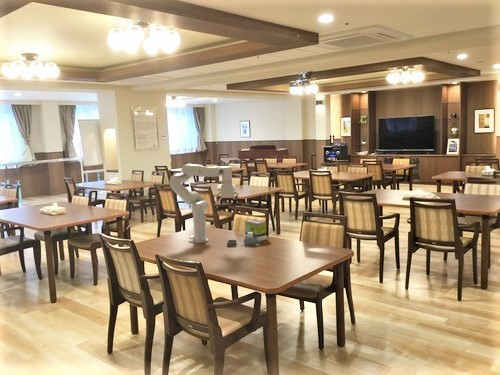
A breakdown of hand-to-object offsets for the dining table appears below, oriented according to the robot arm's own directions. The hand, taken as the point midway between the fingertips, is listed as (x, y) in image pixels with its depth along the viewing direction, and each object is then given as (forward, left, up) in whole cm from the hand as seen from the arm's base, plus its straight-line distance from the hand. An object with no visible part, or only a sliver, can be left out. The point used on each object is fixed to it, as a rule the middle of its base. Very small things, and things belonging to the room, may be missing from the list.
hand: (227, 204), depth 340 cm
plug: (+17, -6, -30) cm, 35 cm away
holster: (+3, -9, -30) cm, 32 cm away
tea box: (+20, +12, -31) cm, 38 cm away
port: (+17, -6, -30) cm, 35 cm away
